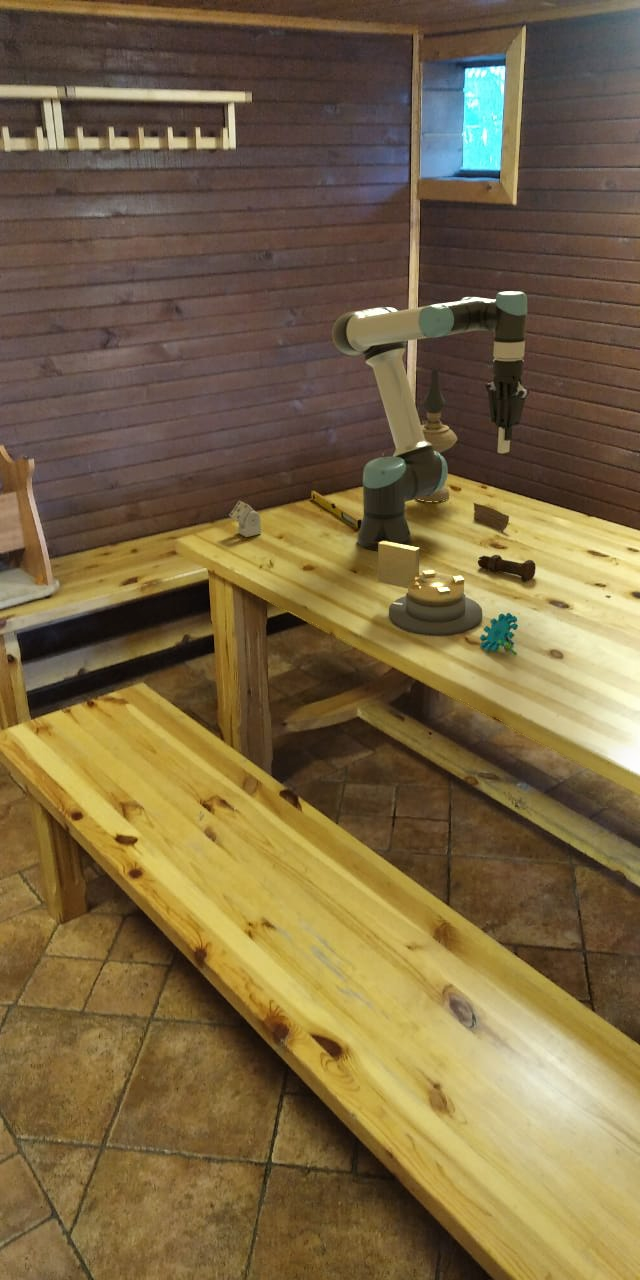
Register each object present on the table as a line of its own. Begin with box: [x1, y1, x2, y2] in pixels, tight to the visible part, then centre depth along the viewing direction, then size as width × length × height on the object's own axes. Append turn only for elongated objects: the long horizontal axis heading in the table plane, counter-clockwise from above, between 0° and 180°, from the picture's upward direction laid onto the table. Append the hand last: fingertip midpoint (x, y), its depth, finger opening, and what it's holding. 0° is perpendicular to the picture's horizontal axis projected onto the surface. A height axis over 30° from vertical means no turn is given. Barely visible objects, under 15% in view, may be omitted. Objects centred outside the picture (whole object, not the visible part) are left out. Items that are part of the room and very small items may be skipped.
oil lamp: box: [417, 369, 458, 502], centre depth 306 cm, size 15×15×40 cm
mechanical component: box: [228, 500, 262, 538], centre depth 286 cm, size 5×8×10 cm
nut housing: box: [388, 592, 483, 637], centre depth 232 cm, size 22×22×5 cm
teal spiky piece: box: [479, 612, 519, 656], centre depth 216 cm, size 11×6×10 cm
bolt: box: [477, 554, 536, 583], centre depth 255 cm, size 6×5×15 cm
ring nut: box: [377, 541, 465, 607], centre depth 230 cm, size 22×13×11 cm, turn 57°
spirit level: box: [310, 490, 363, 529], centre depth 303 cm, size 33×1×3 cm, turn 25°
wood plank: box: [473, 502, 510, 533], centre depth 289 cm, size 15×2×5 cm, turn 30°
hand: (503, 452), depth 252 cm, fingers closed
